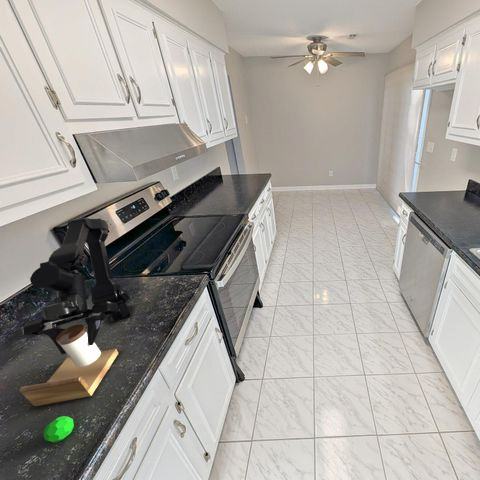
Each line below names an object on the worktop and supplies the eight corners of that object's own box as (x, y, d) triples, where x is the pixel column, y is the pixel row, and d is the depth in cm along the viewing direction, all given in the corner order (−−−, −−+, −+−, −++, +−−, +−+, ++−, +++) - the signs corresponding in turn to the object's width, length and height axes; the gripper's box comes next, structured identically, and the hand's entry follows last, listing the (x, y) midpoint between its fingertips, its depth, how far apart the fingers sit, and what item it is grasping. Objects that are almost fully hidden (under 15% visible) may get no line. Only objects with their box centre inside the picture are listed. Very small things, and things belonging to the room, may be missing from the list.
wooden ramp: (71, 361, 80) (59, 345, 77) (118, 353, 82) (108, 337, 78) (34, 406, 68) (17, 390, 64) (91, 396, 69) (77, 379, 66)
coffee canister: (74, 359, 71) (54, 333, 66) (99, 346, 75) (82, 321, 70) (76, 371, 67) (56, 345, 63) (103, 357, 71) (85, 331, 66)
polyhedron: (62, 424, 63) (51, 413, 61) (82, 421, 63) (73, 410, 61) (44, 448, 59) (32, 437, 57) (67, 445, 59) (55, 434, 57)
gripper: (2, 300, 61) (4, 367, 57) (96, 277, 67) (104, 336, 64) (37, 306, 71) (41, 363, 67) (115, 285, 77) (123, 336, 74)
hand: (77, 349), depth 68 cm, fingers closed on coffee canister, 5 cm apart
